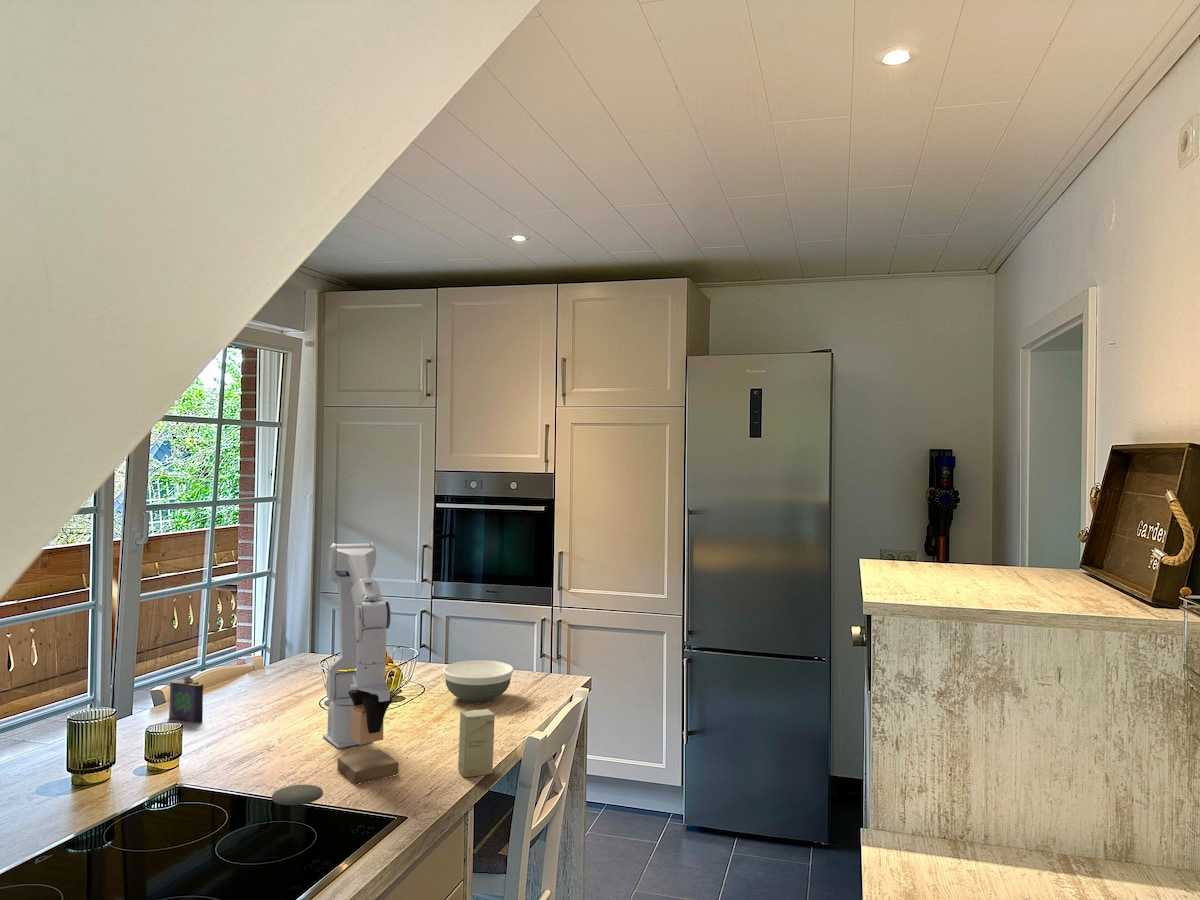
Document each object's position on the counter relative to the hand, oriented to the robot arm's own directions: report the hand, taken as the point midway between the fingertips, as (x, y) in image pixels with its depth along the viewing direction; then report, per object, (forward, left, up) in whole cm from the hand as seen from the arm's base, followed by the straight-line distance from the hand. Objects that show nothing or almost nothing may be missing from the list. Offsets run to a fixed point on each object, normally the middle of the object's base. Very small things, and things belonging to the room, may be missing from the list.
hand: (368, 728), depth 165 cm
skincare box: (+12, +18, -9) cm, 23 cm away
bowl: (-32, +44, -9) cm, 55 cm away
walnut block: (0, 0, -9) cm, 9 cm away
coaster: (+3, -15, -9) cm, 18 cm away
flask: (-55, -22, -9) cm, 60 cm away
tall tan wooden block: (0, 0, -2) cm, 2 cm away
